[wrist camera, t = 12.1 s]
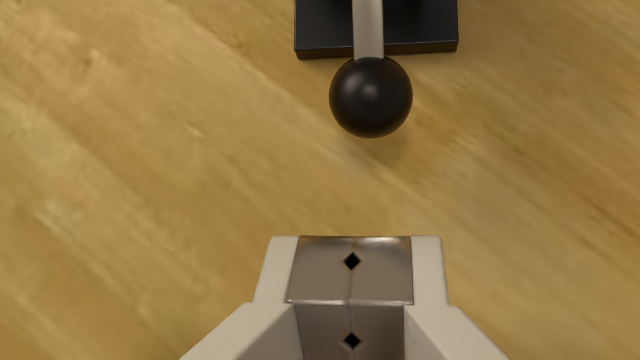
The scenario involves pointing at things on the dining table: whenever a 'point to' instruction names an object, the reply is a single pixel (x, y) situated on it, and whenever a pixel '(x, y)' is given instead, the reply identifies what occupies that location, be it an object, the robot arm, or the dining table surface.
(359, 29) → the lever with ball knob
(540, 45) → the dining table surface
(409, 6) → the black lever stand
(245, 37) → the dining table surface
